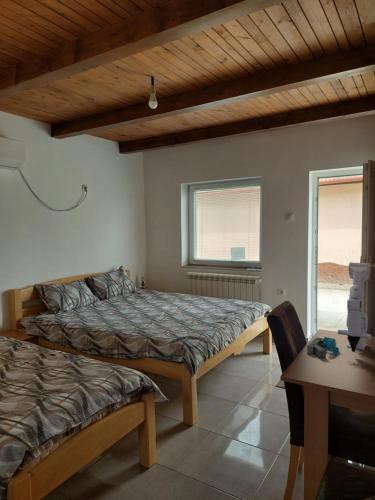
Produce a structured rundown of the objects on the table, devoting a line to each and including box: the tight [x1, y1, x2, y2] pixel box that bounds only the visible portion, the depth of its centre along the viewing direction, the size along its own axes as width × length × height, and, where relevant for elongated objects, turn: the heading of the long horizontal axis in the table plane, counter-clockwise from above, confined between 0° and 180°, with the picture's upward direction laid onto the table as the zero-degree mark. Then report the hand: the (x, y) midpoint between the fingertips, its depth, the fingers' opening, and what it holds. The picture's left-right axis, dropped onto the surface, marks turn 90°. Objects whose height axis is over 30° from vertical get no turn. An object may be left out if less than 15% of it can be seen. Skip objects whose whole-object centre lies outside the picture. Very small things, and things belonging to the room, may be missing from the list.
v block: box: [306, 336, 337, 360], centre depth 179 cm, size 23×9×4 cm, turn 144°
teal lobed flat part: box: [322, 336, 340, 356], centre depth 177 cm, size 11×6×10 cm
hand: (353, 351), depth 170 cm, fingers closed
